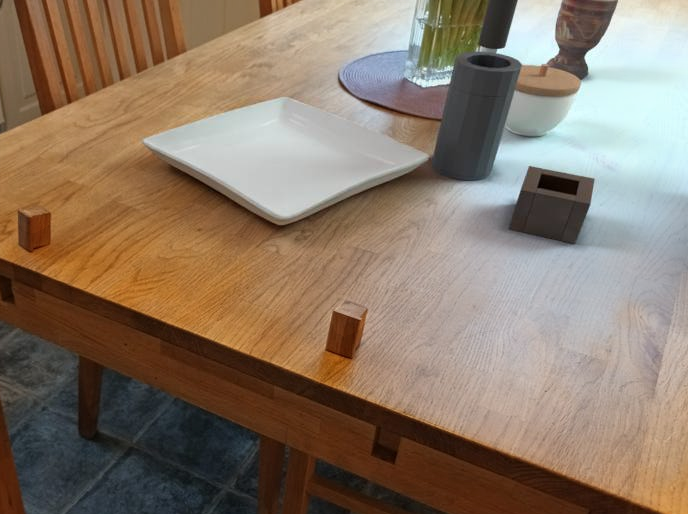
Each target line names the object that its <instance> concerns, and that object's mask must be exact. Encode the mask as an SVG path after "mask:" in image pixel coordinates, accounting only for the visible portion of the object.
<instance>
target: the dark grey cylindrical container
mask: <svg viewBox="0 0 688 514" xmlns="http://www.w3.org/2000/svg"><path fill="white" fill-rule="evenodd" d="M522 66H523V64H522V63H521V61H520V60H518V59H516V58H515V57H512V56H510V55H506V54H502V53H497V52H489V51H467V52H463V53H459V54H457V56H456V57H455V59H454V64H453V67H452V72H451V77H450V81H449V85H448V89H447V93H446V98H445V103H444V106H443V111H442V117H441V120H440V125H439V129H438V133H437V138H436V143H435V146H434V151H433V155H432V162H431V167H432V168H433V169H434V171H435V172H437V173H438V174H439V175H443V176H445V177H447V178H450V179H455V180H461V181H480V180H484V179H486V178H489V176H490V175H491V174H492V171H493V168H494V165H495V161H496V159H497V154H498V150H499V147H500V144H501V140H502V137H503V134H504V130H505V123H506V120H507V116H508V113H509V109H510V106H511V102H512V99H513V95H514V92H515V88H516V85H517V81H518V78H519V74H520V71H521V67H522Z"/></svg>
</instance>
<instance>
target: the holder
mask: <svg viewBox="0 0 688 514" xmlns="http://www.w3.org/2000/svg"><path fill="white" fill-rule="evenodd" d="M595 181H596V179H595V177H594V178H593V177H589V176H584V175H578V174H572V173H567V172H562V171H558V170H553V169H546V168H542V167H538V166H532V165H529V166H528V167H527V170H526V173H525V176H524V179H523V182H522V184H521V188H520V190H519V194H518V197H517V200H516V204H515V206H514V210H513V213H512V216H511V217H510V218H511V219H510V221H509V225H508V227H507V229H508V230H512V231H516V232H520V233H524V234H529V235H534V236H539V237H543V238H546V239H547V238H548V239H552V240H556V241H561V242H564V243H570V244H574V245H575V244H577V243H576V242H577V240H578V238H579V235H580V233H581V230H582V227H583V225H584V222H585V220H586V218H587V215H588V212H589V210H590V208H591V206H592V205H591V204H592V199H593V194H594V193H593V192H594V187H595Z"/></svg>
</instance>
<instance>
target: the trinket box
mask: <svg viewBox="0 0 688 514" xmlns="http://www.w3.org/2000/svg"><path fill="white" fill-rule="evenodd" d="M581 85H582V81H581V79H579V78H578V77H576V76H575V75H573V74H571V73H568V72H566V71H563V70H559V69H555V68H550V67H549V65H548V64H546V63H542V64H541V65H532V64H531V65H530V64H527V65H526V64H525V65H523V64H522V67H521V71H520V74H519V78H518V81H517V85H516V88H515V92H514V95H513V99H512V102H511V106H510V109H509V113H508V116H507V120H506V123H505V127H504V129H505V130H506V131H509V132H510V133H513V134H515V135H519V136H522V137H523V136H524V137H534V138H535V137H536V138H537V137H541V136H545V135H547V133H548V132H550V131H551V130H553V129H555V128H556V127H558V126H559V125H560V124H561V123H562V122H563V121H564V120H565V119H566V117H567V115H568V114H569V112H570V110H571V109H572V106H573V105H574V102H575V100H576V98H577V94H578V92H579V90H580V88H581Z"/></svg>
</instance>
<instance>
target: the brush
mask: <svg viewBox="0 0 688 514" xmlns="http://www.w3.org/2000/svg"><path fill="white" fill-rule="evenodd" d="M518 1H519V0H488V2H487V6H486V10H485V13H484V17H483V22H482V25H481V29H480V33H479V37H478V42H477V44H478V45H477V46H480V47H481V48H485V49H490V50H502V49H504V48H506V46H507V42H508V37H509V34H510V31H511V27H512V23H513V21H514V16H515V11H516V9H517V5H518Z"/></svg>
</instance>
